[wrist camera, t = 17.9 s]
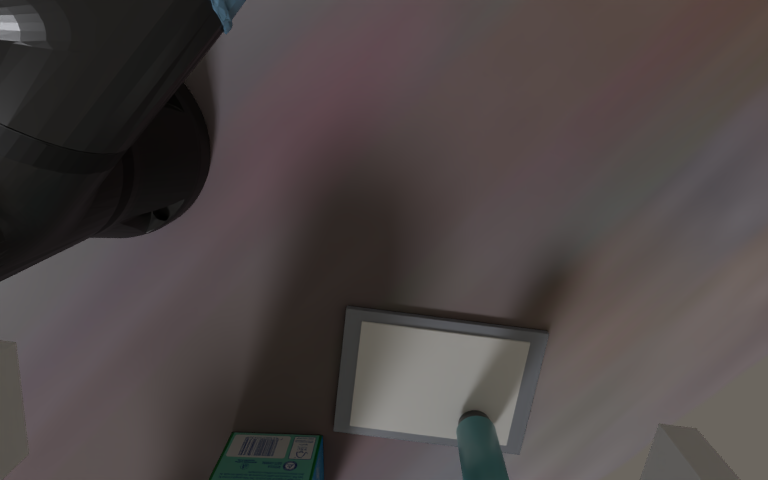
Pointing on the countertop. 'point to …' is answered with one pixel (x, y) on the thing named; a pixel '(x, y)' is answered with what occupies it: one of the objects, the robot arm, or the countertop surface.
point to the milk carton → (271, 457)
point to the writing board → (435, 376)
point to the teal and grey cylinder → (479, 448)
